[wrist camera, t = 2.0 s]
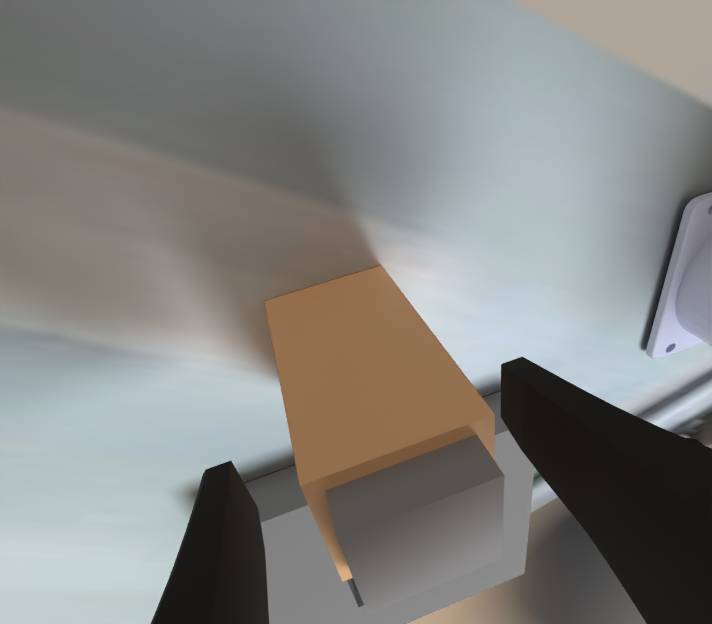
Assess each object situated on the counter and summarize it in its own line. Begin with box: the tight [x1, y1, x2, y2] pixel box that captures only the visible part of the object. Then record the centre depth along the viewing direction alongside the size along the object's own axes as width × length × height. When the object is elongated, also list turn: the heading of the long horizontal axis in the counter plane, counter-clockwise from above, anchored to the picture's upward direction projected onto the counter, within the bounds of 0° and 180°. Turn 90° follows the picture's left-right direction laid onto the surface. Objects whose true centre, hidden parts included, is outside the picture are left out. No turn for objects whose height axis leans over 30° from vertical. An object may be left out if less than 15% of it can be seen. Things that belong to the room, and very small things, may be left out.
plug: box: [264, 265, 504, 614], centre depth 12 cm, size 4×4×8 cm
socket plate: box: [244, 391, 534, 624], centre depth 21 cm, size 14×14×2 cm
